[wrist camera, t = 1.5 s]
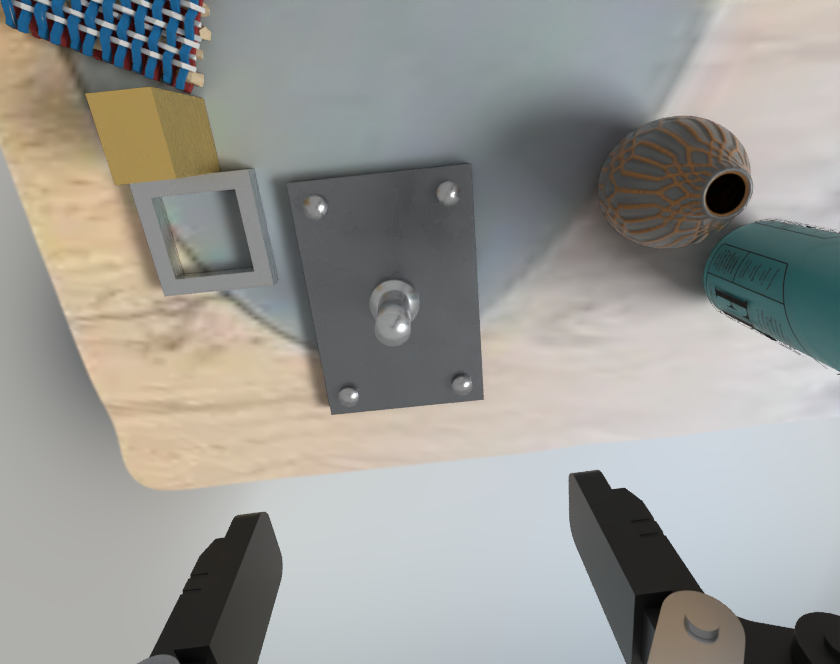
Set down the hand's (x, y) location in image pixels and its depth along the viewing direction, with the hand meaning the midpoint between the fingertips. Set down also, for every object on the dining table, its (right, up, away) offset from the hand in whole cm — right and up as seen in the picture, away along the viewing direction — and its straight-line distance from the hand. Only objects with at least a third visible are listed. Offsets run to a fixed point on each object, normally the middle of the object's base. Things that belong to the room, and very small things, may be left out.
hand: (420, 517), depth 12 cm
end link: (-13, +13, +16) cm, 25 cm away
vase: (+14, +14, +17) cm, 26 cm away
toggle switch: (-2, +7, +19) cm, 21 cm away
